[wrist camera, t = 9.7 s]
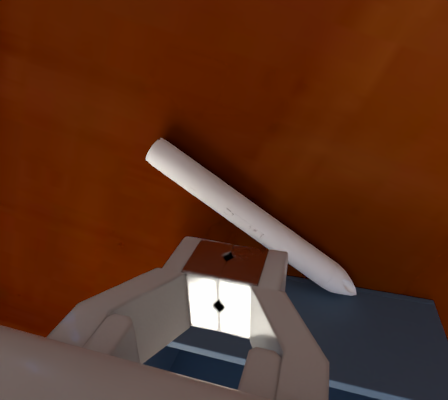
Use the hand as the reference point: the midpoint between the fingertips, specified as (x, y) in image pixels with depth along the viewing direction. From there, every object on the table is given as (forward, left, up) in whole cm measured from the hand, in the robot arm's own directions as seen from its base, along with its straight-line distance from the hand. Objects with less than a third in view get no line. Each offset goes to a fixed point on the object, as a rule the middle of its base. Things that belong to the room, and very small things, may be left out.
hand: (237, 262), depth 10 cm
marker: (+6, -2, -15) cm, 16 cm away
